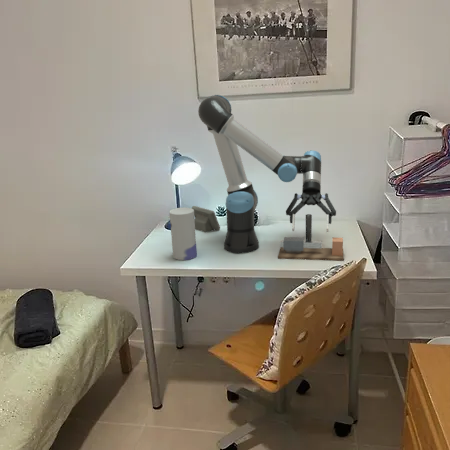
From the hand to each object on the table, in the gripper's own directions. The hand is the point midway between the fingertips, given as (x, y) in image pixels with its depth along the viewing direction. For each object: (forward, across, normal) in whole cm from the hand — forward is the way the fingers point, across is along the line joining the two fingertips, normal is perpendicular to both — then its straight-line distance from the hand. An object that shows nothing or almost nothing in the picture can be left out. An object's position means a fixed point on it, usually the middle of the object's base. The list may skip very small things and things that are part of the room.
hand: (310, 230), depth 202 cm
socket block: (+6, -11, -8) cm, 15 cm away
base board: (+7, +1, -8) cm, 11 cm away
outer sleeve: (+6, +7, -8) cm, 12 cm away
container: (+11, +52, -4) cm, 53 cm away
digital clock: (-14, +51, -30) cm, 61 cm away
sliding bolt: (+5, +4, -6) cm, 9 cm away
